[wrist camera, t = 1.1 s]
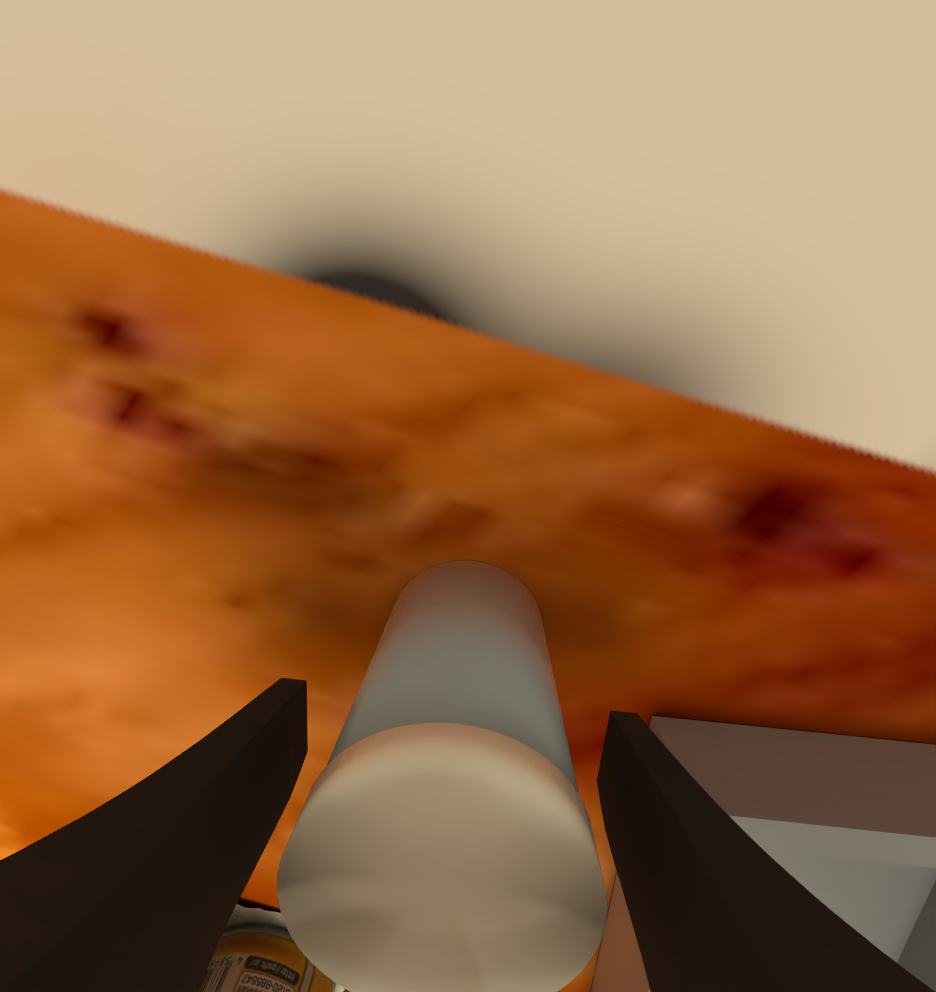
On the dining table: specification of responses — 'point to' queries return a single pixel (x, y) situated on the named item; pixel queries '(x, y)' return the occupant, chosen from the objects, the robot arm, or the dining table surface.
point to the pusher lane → (814, 831)
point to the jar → (449, 808)
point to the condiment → (261, 958)
